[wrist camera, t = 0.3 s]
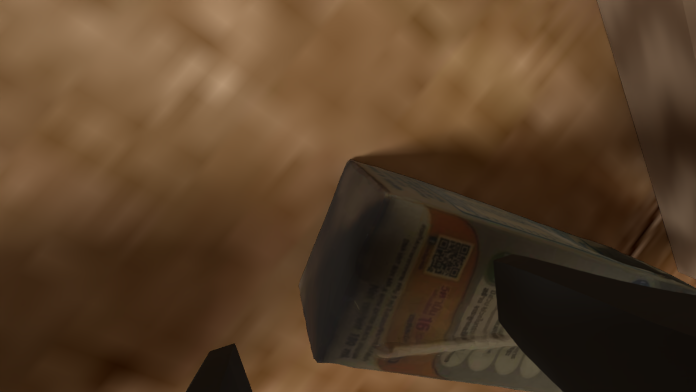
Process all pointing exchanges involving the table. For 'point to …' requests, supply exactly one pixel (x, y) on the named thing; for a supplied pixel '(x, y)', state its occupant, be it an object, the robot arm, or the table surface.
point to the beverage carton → (433, 280)
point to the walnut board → (662, 104)
